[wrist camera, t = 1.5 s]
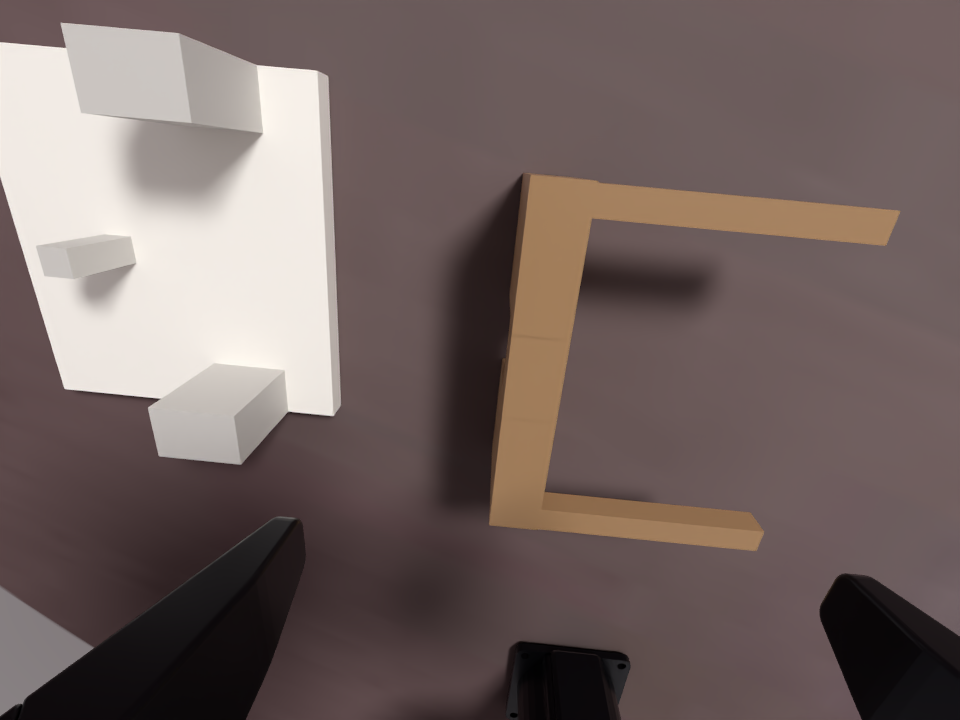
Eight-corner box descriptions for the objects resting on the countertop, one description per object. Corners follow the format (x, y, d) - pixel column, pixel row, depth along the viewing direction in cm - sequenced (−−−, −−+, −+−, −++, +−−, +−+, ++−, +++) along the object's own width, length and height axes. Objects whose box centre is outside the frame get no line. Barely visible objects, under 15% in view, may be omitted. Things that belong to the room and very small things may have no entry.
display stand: (328, 76, 16) (258, 40, 11) (341, 405, 21) (295, 470, 16) (-10, 45, 16) (-211, -2, 12) (83, 379, 21) (-31, 436, 17)
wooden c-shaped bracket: (791, 197, 17) (901, 208, 12) (701, 469, 21) (755, 551, 17) (523, 172, 17) (530, 174, 12) (492, 448, 21) (489, 525, 17)
